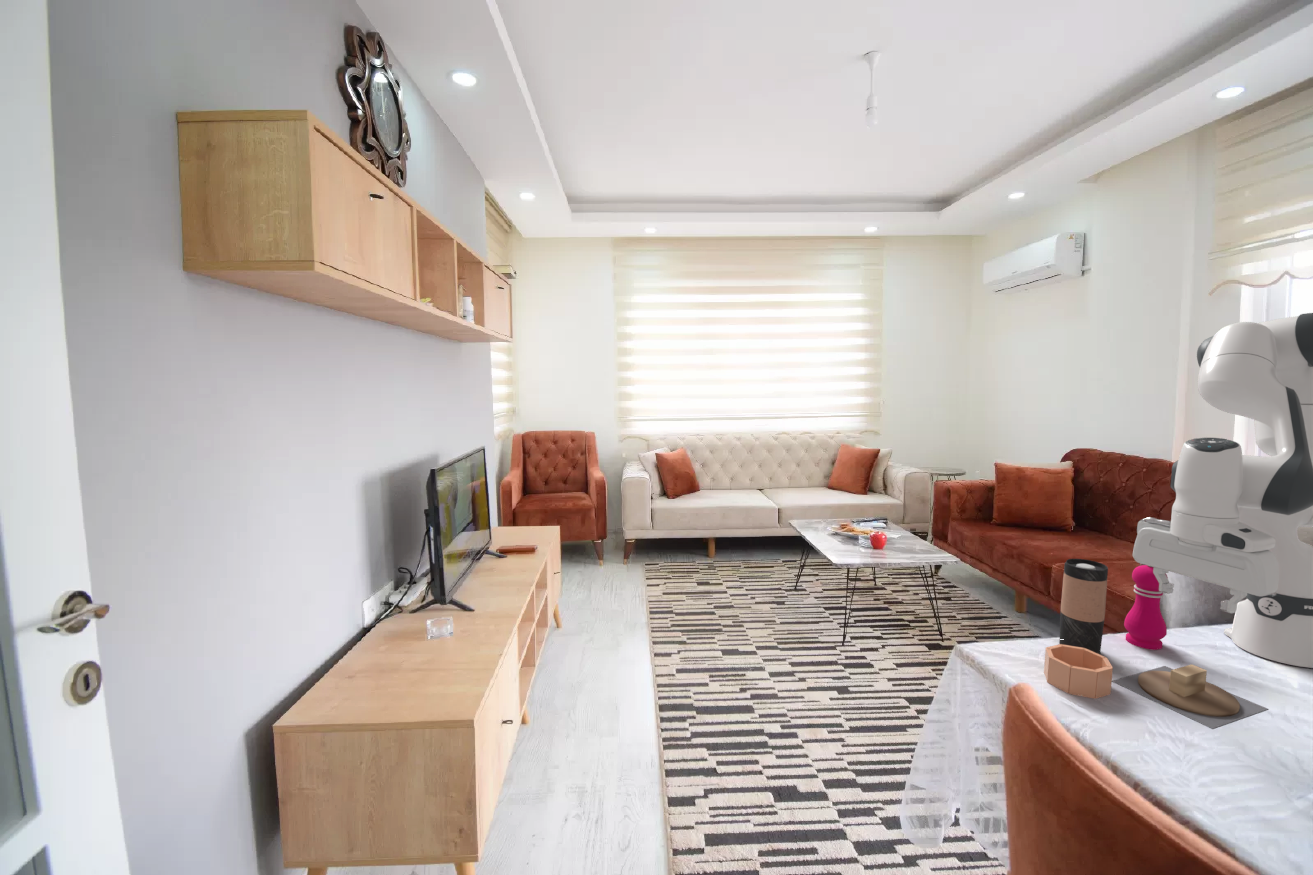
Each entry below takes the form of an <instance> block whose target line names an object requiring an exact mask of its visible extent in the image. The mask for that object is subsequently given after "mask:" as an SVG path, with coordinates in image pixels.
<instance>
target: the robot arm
mask: <svg viewBox="0 0 1313 875" xmlns="http://www.w3.org/2000/svg"><path fill="white" fill-rule="evenodd" d="M1196 360H1197V363H1198V366H1199V371H1198V377H1197V378H1198V379H1197V390H1198V392H1199V393H1198V394H1200V397H1201V398H1202V399H1203V400H1204V401H1205V402H1206V403H1207V404H1208V405H1210V406H1212V407H1213V408H1215V409H1218V410H1219V411H1222V412H1225V413H1227V414H1231V415H1236V416H1240V417H1245V418H1248V419H1251V420H1253V423H1254V435H1255V436H1254V437H1255V445H1256V446H1257V447H1258V448H1259V450H1260V451H1262V452H1263V454H1266V455H1267V456H1261V455H1247V454H1243V449H1242V446H1241V445H1240V443H1239V442H1236V441H1234V440H1230V439H1227V438H1223V437H1221V438H1220V437H1199V438H1197V437H1196V438H1191V439H1189V440H1186V441H1185V442H1183V445H1182V446H1181V450H1180V452H1179V456H1178V459H1177V460H1176V461H1174V462H1173V463H1172V467H1171V476H1170V488H1171V489H1172V490H1173V491H1174V492H1175V500H1174V502H1173V504H1172V506H1171V517H1170V518H1171V519H1170V520H1165V519H1159V518H1156V517H1151V516H1149V517H1146V518H1142V519H1140V520H1139V521H1138V522H1137V525H1136V526H1137V527H1136V533H1137V535H1136V538H1135V541H1134V545H1133V549H1132V550H1133V551H1132V557H1133V559H1134V561H1135V562H1136V563H1138V564H1141V565H1148V566H1152V567H1154V568H1153V573H1154V575H1155V577H1156V578H1157V580H1158V582H1159V591H1161V592H1164V593H1165V594H1168V595H1170V594H1173V593H1174V591H1175V590H1174V588H1175V584H1174V583H1172V582H1170V581H1169V577H1168V575H1167V576H1166V574H1168V573H1169V572H1170V573H1174V574H1177V575H1181V576H1184V577H1189V578H1192V579H1195V580H1198V581H1203V582H1206V583H1210V584H1213V585H1217V586H1221V587H1225V588H1228V589H1229V594H1230V595H1231V596H1232V597H1230V599H1224V600H1221V601H1220V607H1219V609H1220V611H1222V612H1225V613H1228V614H1234V618H1233V622H1232V626H1231V627H1228V628H1227V627H1226V628H1225V629H1224V631H1223V634H1225V636H1227V637H1229V638H1230V639H1231V640H1232V642H1233V643H1234V644H1235V645H1236V647H1239V648H1241V649H1242V650H1244V651H1246V652H1248V653H1250V654H1252V655H1255V656H1258V657H1261V658H1264V659H1266V660H1271V661H1273V662H1278V663H1282V664H1287V665H1291V666H1294V667H1295V666H1296V667H1301V668H1311V669H1313V546H1312V545H1310V544H1309V543H1307V542H1304V541H1302V540H1300V538H1299V534H1298V531H1299V528H1313V312H1309V313H1308V312H1307V313H1306V312H1305V313H1301V314H1299V315H1296V316H1289V317H1283V318H1276V319H1270V320H1265V321H1261V322H1258V323H1257V322H1253V321H1240V322H1235V323H1230V324H1227V325H1225V326H1223V327H1221V329H1219V330H1218V331H1217V332H1216V333H1215V334H1214V335H1212V336H1210V337H1208V338H1205V339H1204V340H1203V341H1202V342H1201V343H1200V345H1199V346H1198V348H1197V351H1196ZM1165 573H1166V574H1165ZM1167 577H1168V578H1167ZM1164 593H1163V594H1164ZM1245 598H1246V599H1245Z"/></svg>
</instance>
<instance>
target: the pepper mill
mask: <svg viewBox="0 0 1313 875" xmlns="http://www.w3.org/2000/svg"><path fill="white" fill-rule="evenodd" d="M1153 568H1154V567H1152V566H1148V565H1145V564H1141V565H1138V566H1136V567H1135V568H1134V569H1133V570H1132V573H1131V578H1132V581H1133V582H1134V583H1135V584H1134V585H1133V587H1134V588H1133V592H1134V593H1135V600H1134V603H1133V605H1132V607H1131V608H1130V610H1129V611H1128V612H1127V614H1126V616H1125V618H1124V623H1123V626H1124V628H1125V630H1126V631H1127V633H1126V634H1125V642H1127V643H1128V644H1131V645H1132V646H1134V647H1137V648H1140V649H1141V648H1142V649H1145V650H1150V651H1151V650H1153V651H1155V650H1157V651H1158V650H1161V649H1163V645H1164V644H1163V640H1162V639H1164V638H1165V637H1166V636H1167V635H1168V632H1167V630H1168V629H1167V628H1168V627H1167V624H1166V622H1165V619H1164V617H1163V615H1162V611H1161V599H1162V598H1163V597H1164V592H1161V591H1159V582H1158V580H1157V578H1156V577H1155V575H1154V573H1153ZM1165 574H1166V576H1167V578H1168V579H1169V577H1168V573H1165Z"/></svg>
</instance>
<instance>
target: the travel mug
mask: <svg viewBox="0 0 1313 875" xmlns="http://www.w3.org/2000/svg"><path fill="white" fill-rule="evenodd" d="M1108 573H1109V567H1108V566H1107V565H1105V564H1103V563H1101V562H1099V561H1096V560H1092V559H1091V560H1090V559H1086V558H1084V559H1083V558H1068V559H1066V561H1065V562H1064V567H1063V578H1062V589H1061V590H1062V591H1061V601H1060V614H1059V615H1060V617H1059V644H1063V645H1069V646H1075V647H1081V648H1086V649H1088V650H1090V651H1093V652H1095V653H1097V654H1100V655H1101V649H1102V641H1103V635H1104V634H1103V633H1104V626H1105V618H1106V617H1105V615H1106V602H1107V590H1108V575H1109V574H1108ZM1060 639H1064V640H1060Z"/></svg>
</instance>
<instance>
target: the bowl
mask: <svg viewBox="0 0 1313 875" xmlns="http://www.w3.org/2000/svg"><path fill="white" fill-rule="evenodd" d="M1113 671H1114V670H1113V665H1112V664H1111V662H1110V661H1109V658H1108V657H1106V656H1104V655H1101V653H1100V654H1097V653H1095V652H1093V651H1090V650H1088V649H1086V648H1081V647H1075V646H1069V645H1063V644H1054V645H1050V646H1047V647H1045V651H1044V666H1043V675H1044V677H1045V680H1046V683H1047V684H1050V686H1051V685H1052V686H1053V687H1055V688H1057V689H1059V690H1060V691H1063V692H1065V693H1067V694H1069V695H1073V696H1079V697H1084V698H1089V699H1095V700H1097V699H1099V698H1104V697H1106V696H1109V695H1111V694H1112V693H1111V692H1112V683H1113V682H1112V681H1113Z"/></svg>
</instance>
